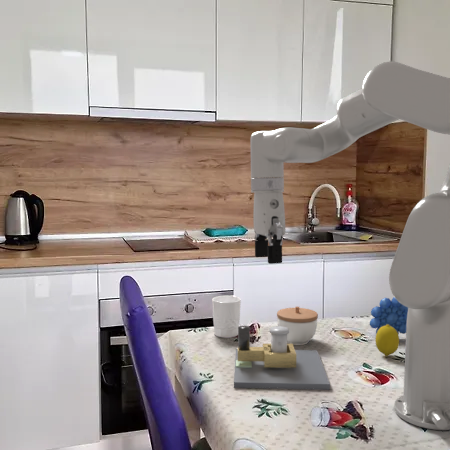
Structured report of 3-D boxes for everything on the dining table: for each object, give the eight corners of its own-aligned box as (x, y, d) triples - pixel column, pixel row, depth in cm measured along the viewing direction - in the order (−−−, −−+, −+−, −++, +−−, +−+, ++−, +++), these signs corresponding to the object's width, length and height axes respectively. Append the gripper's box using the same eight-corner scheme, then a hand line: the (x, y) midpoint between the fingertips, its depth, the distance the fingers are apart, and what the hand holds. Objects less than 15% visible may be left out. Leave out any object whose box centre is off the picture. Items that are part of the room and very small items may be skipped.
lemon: (380, 350, 130) (381, 319, 129) (401, 355, 127) (403, 324, 126) (371, 356, 126) (372, 325, 125) (393, 362, 122) (394, 329, 122)
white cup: (243, 330, 146) (243, 296, 145) (237, 339, 138) (237, 303, 137) (216, 328, 148) (216, 294, 147) (209, 337, 140) (209, 301, 139)
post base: (329, 389, 107) (330, 345, 106) (233, 387, 108) (234, 343, 107) (316, 354, 127) (317, 317, 126) (236, 353, 128) (236, 315, 127)
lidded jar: (284, 349, 131) (284, 313, 130) (271, 336, 141) (272, 302, 140) (323, 346, 133) (324, 311, 132) (308, 333, 143) (309, 300, 142)
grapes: (413, 336, 141) (415, 293, 140) (414, 344, 135) (416, 299, 134) (369, 331, 145) (371, 290, 144) (368, 339, 139) (370, 295, 137)
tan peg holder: (237, 367, 114) (238, 332, 113) (237, 355, 121) (237, 322, 120) (296, 367, 114) (296, 332, 113) (292, 356, 121) (292, 322, 120)
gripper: (296, 186, 110) (297, 265, 112) (270, 185, 127) (271, 253, 129) (263, 186, 108) (264, 267, 110) (241, 185, 125) (242, 255, 127)
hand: (268, 259), depth 119 cm, fingers open, 9 cm apart
